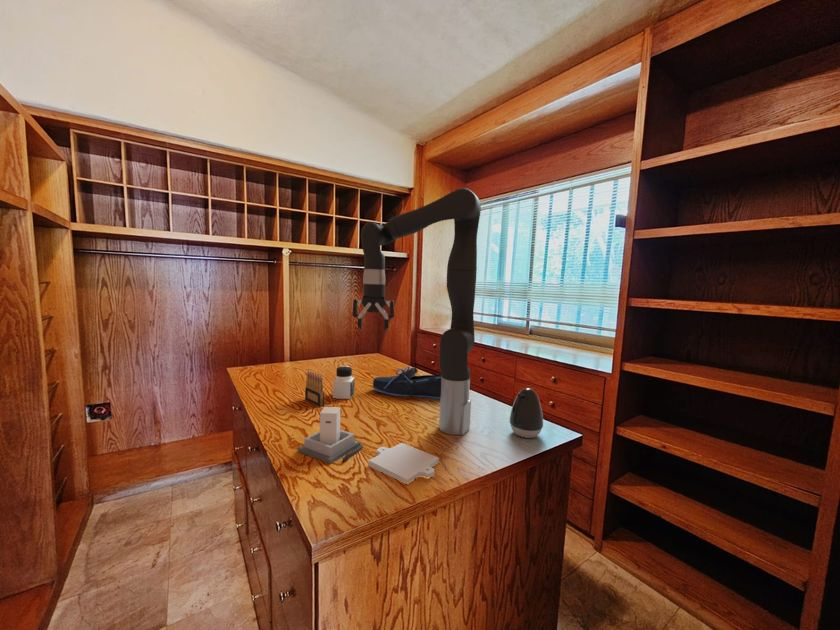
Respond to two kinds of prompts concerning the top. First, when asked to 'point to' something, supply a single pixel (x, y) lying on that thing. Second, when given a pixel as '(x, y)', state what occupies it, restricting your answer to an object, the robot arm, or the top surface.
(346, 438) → the grey square tray
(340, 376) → the medicine bottle
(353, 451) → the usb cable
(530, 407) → the dark grey egg shape
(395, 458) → the mounting plate
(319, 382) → the pencil set
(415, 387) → the moccasin
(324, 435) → the charger
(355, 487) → the top surface
